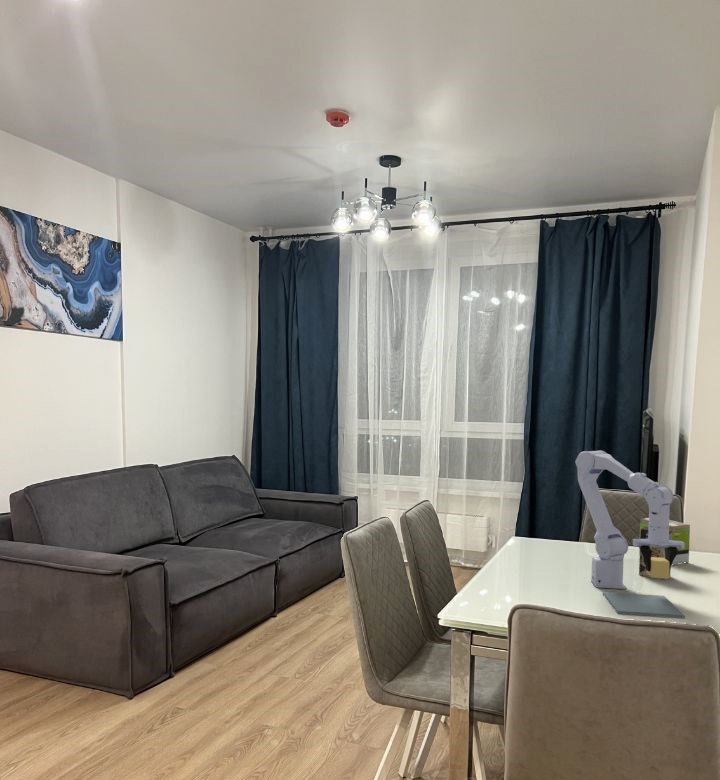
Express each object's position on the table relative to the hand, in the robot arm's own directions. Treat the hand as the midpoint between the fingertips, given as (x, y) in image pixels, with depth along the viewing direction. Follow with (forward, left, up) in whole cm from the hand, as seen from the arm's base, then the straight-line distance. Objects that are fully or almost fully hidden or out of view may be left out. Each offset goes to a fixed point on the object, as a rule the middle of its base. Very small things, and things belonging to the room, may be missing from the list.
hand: (657, 570), depth 203 cm
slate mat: (-7, -8, -8) cm, 14 cm away
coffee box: (+7, +27, -9) cm, 29 cm away
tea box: (+18, +53, -9) cm, 56 cm away
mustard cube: (0, 0, -2) cm, 2 cm away
